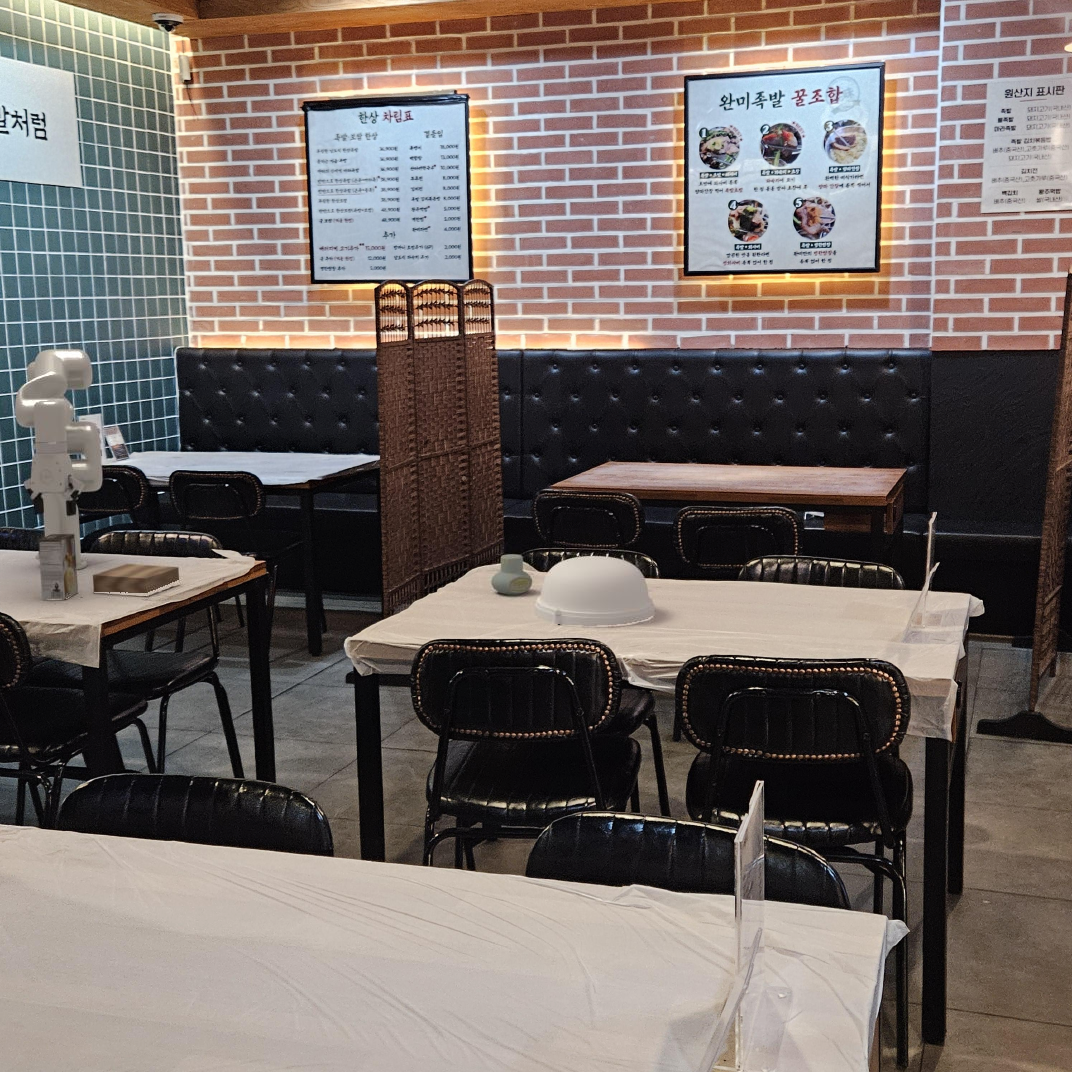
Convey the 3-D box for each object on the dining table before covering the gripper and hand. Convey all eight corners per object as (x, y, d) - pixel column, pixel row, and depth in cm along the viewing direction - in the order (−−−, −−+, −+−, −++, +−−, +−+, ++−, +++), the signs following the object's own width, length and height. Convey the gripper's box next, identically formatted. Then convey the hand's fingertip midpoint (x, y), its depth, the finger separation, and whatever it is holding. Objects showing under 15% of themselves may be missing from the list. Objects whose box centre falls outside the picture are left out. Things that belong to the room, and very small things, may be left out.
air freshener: (502, 598, 347) (502, 560, 345) (486, 592, 354) (486, 555, 352) (537, 593, 353) (537, 556, 351) (520, 587, 360) (520, 551, 358)
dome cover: (585, 595, 351) (585, 543, 349) (680, 611, 333) (681, 557, 330) (507, 616, 327) (507, 561, 325) (604, 635, 308) (605, 576, 306)
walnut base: (93, 593, 351) (92, 574, 350) (128, 581, 366) (127, 563, 365) (146, 597, 347) (145, 578, 346) (179, 585, 362) (178, 567, 361)
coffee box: (54, 593, 351) (51, 533, 349) (78, 593, 351) (75, 533, 349) (41, 600, 342) (37, 539, 340) (65, 600, 342) (62, 539, 340)
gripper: (13, 449, 339) (17, 515, 342) (71, 450, 334) (75, 517, 337) (32, 446, 346) (35, 511, 349) (89, 448, 341) (92, 513, 344)
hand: (55, 514), depth 343 cm, fingers open, 9 cm apart
